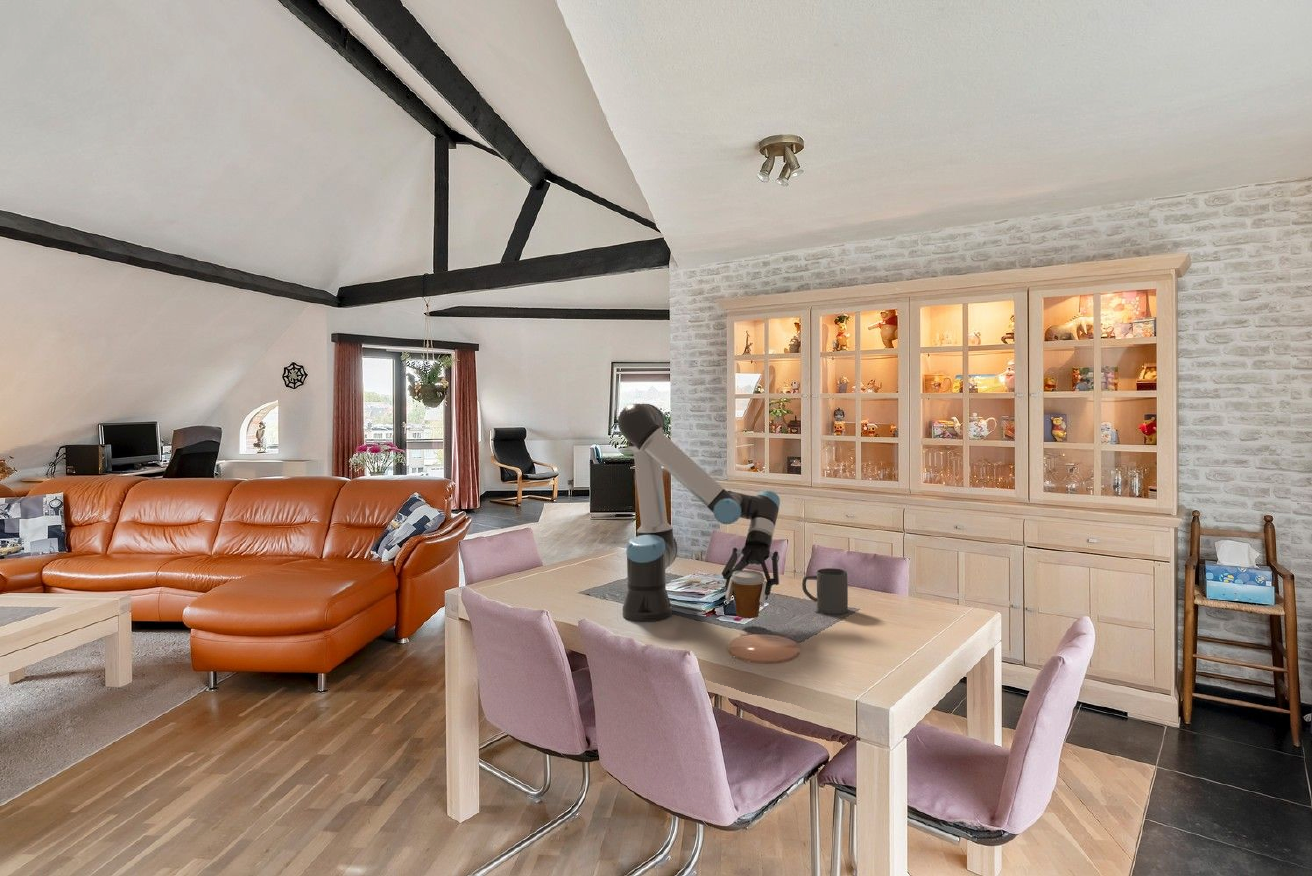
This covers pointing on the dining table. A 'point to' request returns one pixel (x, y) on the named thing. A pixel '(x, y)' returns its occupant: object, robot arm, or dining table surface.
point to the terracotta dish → (763, 648)
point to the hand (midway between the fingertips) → (744, 602)
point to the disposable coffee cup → (747, 592)
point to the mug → (830, 590)
